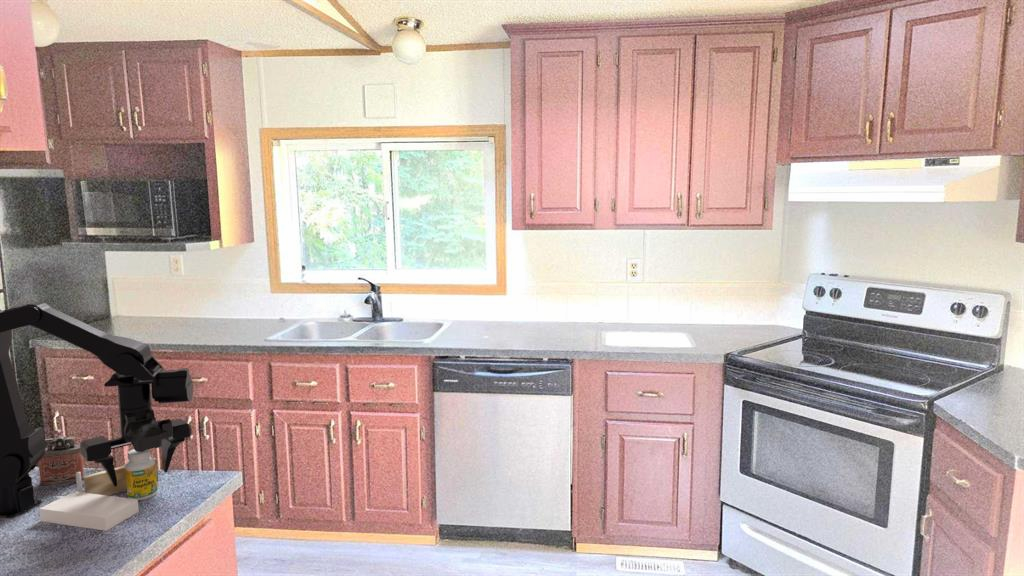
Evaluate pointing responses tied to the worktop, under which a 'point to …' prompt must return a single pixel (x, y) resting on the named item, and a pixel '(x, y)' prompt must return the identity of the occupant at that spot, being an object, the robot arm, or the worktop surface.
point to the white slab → (89, 509)
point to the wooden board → (107, 482)
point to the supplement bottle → (140, 475)
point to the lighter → (60, 462)
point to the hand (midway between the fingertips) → (140, 478)
